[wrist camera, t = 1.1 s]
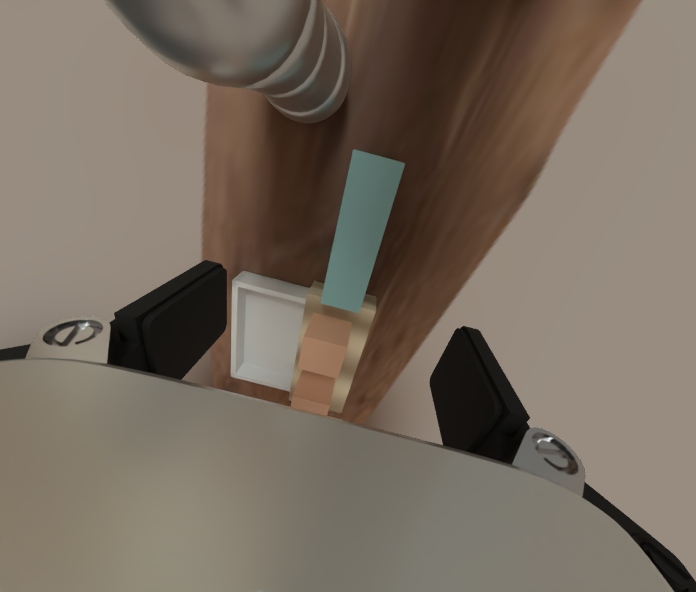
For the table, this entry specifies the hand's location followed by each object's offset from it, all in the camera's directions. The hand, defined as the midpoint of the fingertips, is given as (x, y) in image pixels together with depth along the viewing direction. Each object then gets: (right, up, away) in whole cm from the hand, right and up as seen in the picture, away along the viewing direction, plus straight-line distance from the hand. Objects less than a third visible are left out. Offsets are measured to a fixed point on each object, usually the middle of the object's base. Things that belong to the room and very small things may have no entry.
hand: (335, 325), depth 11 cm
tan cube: (-1, -3, +17) cm, 17 cm away
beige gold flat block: (-2, -5, +22) cm, 22 cm away
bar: (+2, +8, +15) cm, 17 cm away
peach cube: (-3, -9, +21) cm, 23 cm away
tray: (-9, -3, +22) cm, 23 cm away
